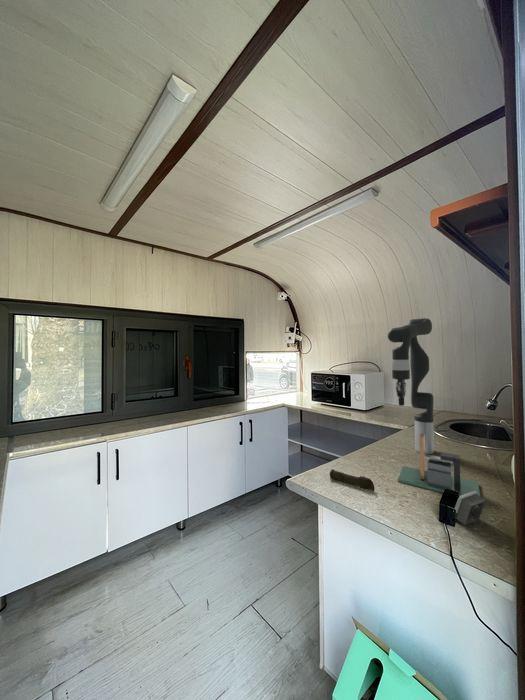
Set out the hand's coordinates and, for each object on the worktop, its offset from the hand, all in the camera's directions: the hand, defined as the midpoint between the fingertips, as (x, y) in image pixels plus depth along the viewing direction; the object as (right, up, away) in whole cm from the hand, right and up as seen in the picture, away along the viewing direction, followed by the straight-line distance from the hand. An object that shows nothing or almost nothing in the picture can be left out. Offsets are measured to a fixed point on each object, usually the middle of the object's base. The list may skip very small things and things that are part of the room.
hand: (401, 405), depth 127 cm
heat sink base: (+8, -31, -14) cm, 35 cm away
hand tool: (-28, -32, -13) cm, 44 cm away
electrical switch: (+2, -31, -39) cm, 50 cm away
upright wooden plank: (+8, -29, -13) cm, 33 cm away
